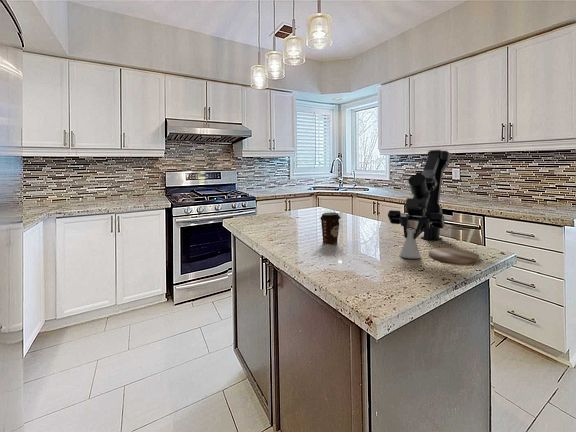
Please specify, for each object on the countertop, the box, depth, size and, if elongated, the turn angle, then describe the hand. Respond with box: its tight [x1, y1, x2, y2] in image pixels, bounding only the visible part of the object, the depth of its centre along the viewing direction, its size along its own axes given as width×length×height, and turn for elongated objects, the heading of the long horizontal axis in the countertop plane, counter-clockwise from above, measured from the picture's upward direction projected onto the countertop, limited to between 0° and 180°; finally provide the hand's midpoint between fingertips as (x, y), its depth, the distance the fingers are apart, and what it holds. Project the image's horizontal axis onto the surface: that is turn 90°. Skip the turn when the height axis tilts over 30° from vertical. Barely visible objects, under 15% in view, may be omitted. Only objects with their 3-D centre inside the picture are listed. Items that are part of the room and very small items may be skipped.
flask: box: [399, 228, 421, 259], centre depth 113 cm, size 7×7×10 cm
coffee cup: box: [319, 212, 341, 246], centre depth 135 cm, size 9×8×13 cm
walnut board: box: [428, 247, 481, 265], centre depth 113 cm, size 16×16×1 cm
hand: (409, 238), depth 111 cm, fingers closed on flask, 3 cm apart
